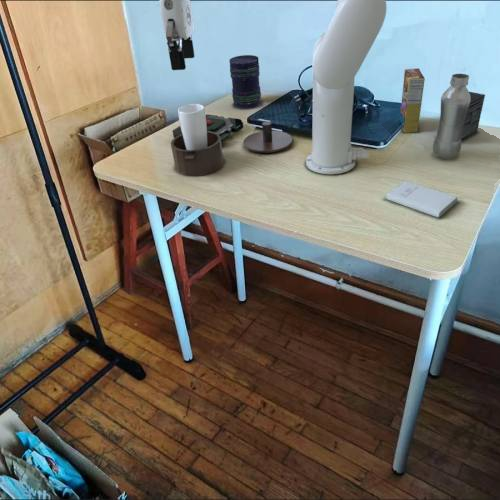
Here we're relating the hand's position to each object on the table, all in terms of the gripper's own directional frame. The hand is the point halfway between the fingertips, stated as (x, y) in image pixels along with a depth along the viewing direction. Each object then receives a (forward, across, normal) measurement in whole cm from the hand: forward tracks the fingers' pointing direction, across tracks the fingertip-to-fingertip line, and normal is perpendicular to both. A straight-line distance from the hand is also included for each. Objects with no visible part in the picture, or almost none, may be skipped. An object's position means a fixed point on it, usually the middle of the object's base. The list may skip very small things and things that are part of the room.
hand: (183, 63), depth 107 cm
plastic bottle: (+26, +2, -64) cm, 69 cm away
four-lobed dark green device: (+26, +20, +1) cm, 33 cm away
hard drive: (+26, -20, -54) cm, 63 cm away
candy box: (+26, +22, -58) cm, 67 cm away
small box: (+26, +15, -70) cm, 76 cm away
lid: (+26, +12, -18) cm, 34 cm away
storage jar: (+26, +46, -8) cm, 54 cm away
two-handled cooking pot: (+26, 0, 0) cm, 26 cm away
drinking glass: (+26, 0, 0) cm, 26 cm away
